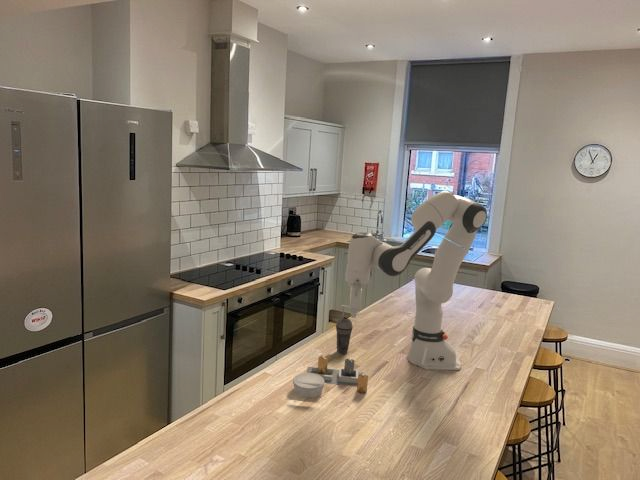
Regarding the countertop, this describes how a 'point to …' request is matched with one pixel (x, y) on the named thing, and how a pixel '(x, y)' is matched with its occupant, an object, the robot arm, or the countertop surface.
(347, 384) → the gray slab
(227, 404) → the countertop surface
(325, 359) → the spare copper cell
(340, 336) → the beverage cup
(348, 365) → the cylinder
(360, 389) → the copper cell
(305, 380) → the ramekin
